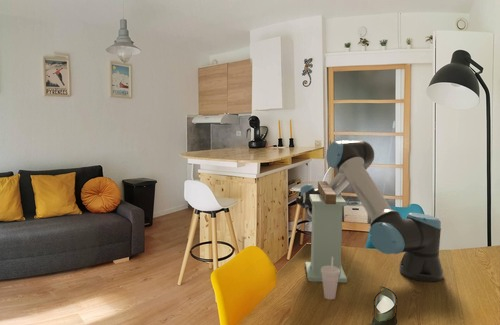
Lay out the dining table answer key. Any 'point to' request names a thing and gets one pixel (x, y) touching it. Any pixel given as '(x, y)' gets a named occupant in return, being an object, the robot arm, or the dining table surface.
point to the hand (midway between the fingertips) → (320, 195)
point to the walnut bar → (326, 192)
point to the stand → (325, 237)
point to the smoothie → (330, 280)
